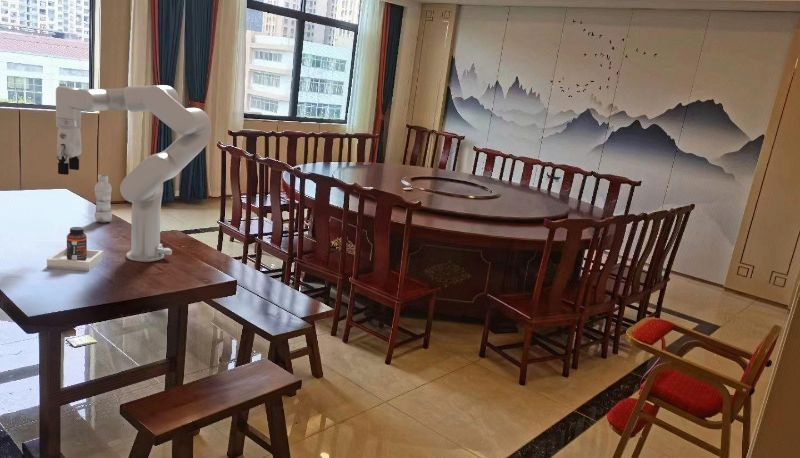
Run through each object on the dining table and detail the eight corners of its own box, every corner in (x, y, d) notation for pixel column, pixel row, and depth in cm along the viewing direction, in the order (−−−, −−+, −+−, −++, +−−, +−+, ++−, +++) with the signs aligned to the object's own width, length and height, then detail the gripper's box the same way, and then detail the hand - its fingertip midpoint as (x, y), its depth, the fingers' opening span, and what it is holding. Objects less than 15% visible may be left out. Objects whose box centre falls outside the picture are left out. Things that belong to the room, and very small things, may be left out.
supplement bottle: (78, 264, 194) (77, 231, 191) (62, 261, 195) (61, 228, 192) (90, 259, 200) (90, 227, 197) (75, 256, 201) (75, 224, 198)
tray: (103, 258, 205) (103, 250, 204) (89, 270, 192) (89, 262, 191) (64, 255, 203) (64, 247, 202) (47, 267, 190) (46, 259, 189)
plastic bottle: (115, 222, 248) (115, 176, 244) (100, 224, 243) (99, 177, 238) (106, 219, 252) (106, 173, 247) (91, 221, 246) (90, 174, 241)
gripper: (70, 126, 193) (71, 177, 197) (89, 122, 209) (89, 169, 213) (46, 124, 191) (46, 175, 196) (66, 119, 208) (66, 166, 212)
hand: (68, 171), depth 205 cm, fingers open, 9 cm apart
